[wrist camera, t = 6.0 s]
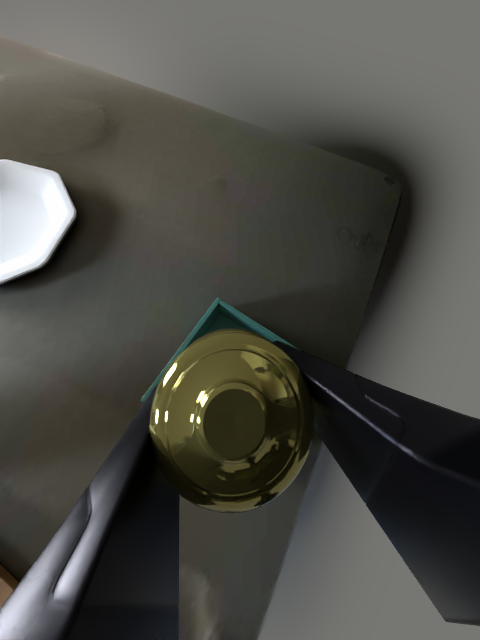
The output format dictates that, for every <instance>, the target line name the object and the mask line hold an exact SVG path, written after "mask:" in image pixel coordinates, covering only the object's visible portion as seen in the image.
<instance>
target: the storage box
mask: <svg viewBox="0 0 480 640" xmlns="http://www.w3.org/2000/svg"><path fill="white" fill-rule="evenodd" d="M230 328H236V329H244V330H249V331H252V332H255V333H257V334H260V335H262V336H263V337H265V338H267V339H268V340H270V341H271V342H274V341H276V340H278V341H281V342H283V343H285V344H288V345H290V346H292V347H294V348H296V347H295V346H293V345H291V344H290V343H288V342H287V341H285V340H284V339H282V338H280V337H279V336H277V335H276V334H274V333H273V332H271V331H270V330H268V329H266V328H265V327H263V326H262V325H260V324H259V323H257V322H255V321H254V320H252V319H251V318H249V317H248V316H246V315H245V314H243V313H241V312H240V311H238V310H237V309H235V308H234V307H232V306H230V305H229V304H227V303H226V302H224V301H223V300H221V299H220V298H217V299H216V300H215V301H214V303H213V304H212V305H211V307H210V308H209V309H208V311H207V312H206V313H205V315H204V316H203V317H202V319H201V320H200V321H199V323H198V324H197V325H196V327H195V328H194V329H193V331H192V332H191V333H190V335H189V336H188V337H187V339H186V340H185V341H184V343H183V344H182V345H181V347H180V348H179V349H178V351H177V352H176V353H175V355H174V356H173V357H172V359H171V360H170V361H169V363H168V364H167V365H166V367H165V368H164V369H163V371H162V372H161V373H160V375H159V376H158V377H157V379H156V380H155V381H154V383H153V384H152V385H151V387H150V388H149V389H148V391H147V392H146V393H145V395H144V396H143V397H142V399H141V401H142V402H143V403H144V402H145V401H146V399H147V398H148V396H149V395H150V393H151V392H152V390H153V389H154V387H155V386H156V385H157V384H159V382H160V380H161V378H162V376H163V375H164V373H165V371H166V370H167V368H168V367H169V366H170V364H171V363H172V362H173V361H174V360H175V359H176V357H177V356H178V355H179V354H181V353H182V352H183V351H184V350H185V349H186V348H187V347H188V346H189V345H191V344H192V343H193V342H194V341H196V340H197V339H199V338H200V337H202V336H204V335H206V334H208V333H211V332H214V331H217V330H221V329H230ZM297 349H298V348H297Z"/></svg>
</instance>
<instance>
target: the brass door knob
mask: <svg viewBox="0 0 480 640" xmlns="http://www.w3.org/2000/svg"><path fill="white" fill-rule="evenodd" d="M313 430H314V410H313V403H312V399H311V395H310V391H309V388H308V386H307V383H306V381H305V379H304V377H303V375H302V373H301V371H300V370H299V368H298V367H297V365H296V364H295V362H294V361H293V360H292V359H291V358H290V357H289V356H288V355H287V354H286V353H285V352H284V351H283V350H282V349H281V348H279V347H278V346H276V345H275V344H273V343H272V342H271V341H270V340H268V339H267V338H265V337H263V336H262V335H260V334H257V333H255V332H252V331H249V330H244V329H236V328H230V329H221V330H217V331H214V332H211V333H208V334H206V335H204V336H202V337H200V338H199V339H197V340H196V341H194V342H193V343H192V344H191V345H189V346H188V347H187V348H186V349H185V350H184V351H183V352H182V353H181V354H179V355H178V356H177V357H176V359H175V360H174V361H173V362H172V363H171V364H170V366H169V367H168V368H167V370H166V371H165V373H164V375H163V376H162V378H161V380H160V382H159V384H158V386H157V389H156V392H155V395H154V398H153V402H152V406H151V413H150V437H151V444H152V448H153V452H154V455H155V458H156V461H157V463H158V466H159V468H160V469H161V471H162V473H163V475H164V476H165V478H166V479H167V481H168V482H169V483H170V485H171V486H172V487H173V488H174V489H175V490H176V491H177V492H178V493H179V494H180V495H181V496H183V497H184V498H185V499H187V500H188V501H190V502H191V503H193V504H195V505H197V506H199V507H201V508H204V509H206V510H210V511H213V512H219V513H241V512H246V511H250V510H253V509H256V508H259V507H261V506H263V505H265V504H267V503H269V502H271V501H272V500H274V499H275V498H277V497H278V496H279V495H280V494H281V493H283V492H284V491H285V490H286V489H287V488H288V487H289V486H290V484H291V483H292V482H293V481H294V480H295V478H296V477H297V475H298V474H299V472H300V470H301V469H302V467H303V465H304V463H305V461H306V458H307V456H308V453H309V450H310V446H311V443H312V437H313Z"/></svg>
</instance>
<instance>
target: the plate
mask: <svg viewBox="0 0 480 640" xmlns="http://www.w3.org/2000/svg"><path fill="white" fill-rule="evenodd" d="M76 219H77V210H76V208H75V206H74V204H73V201H72V199H71V197H70V195H69V193H68V191H67V188H66V186H65V184H64V182H63V180H62V177H61V176H60V175H59V174H58V173H56V172H55V171H51V170H47V169H43V168H39V167H35V166H31V165H27V164H23V163H19V162H15V161H11V160H7V159H3V160H0V285H3V284H5V283H8V282H10V281H13V280H15V279H17V278H20V277H22V276H25V275H27V274H30V273H32V272H35V271H37V270H39V269H42V268H43V267H45V266H46V265H47V264H48V263H49V262H50V261H51V259H52V257H53V256H54V254H55V253H56V251H57V249H58V248H59V246H60V245H61V243H62V241H63V240H64V238H65V237H66V235H67V233H68V232H69V230H70V229H71V227H72V225H73V224H74V222H75V221H76Z"/></svg>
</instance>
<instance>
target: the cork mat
mask: <svg viewBox="0 0 480 640" xmlns="http://www.w3.org/2000/svg"><path fill="white" fill-rule="evenodd" d="M18 584H19V582H18V581H17V580H16V579H15V578H14V577H13V576H12V575H11V574H10V573H9V572H8V571H7V570H6V569H5V568H4V567H3V566H1V565H0V608H1V607H2V605H3V604H4V602H5V601H6V600H7V598H8V597H9V596H10V594H11V593H12V592H13V590H14V589H15V588H16V586H17V585H18Z"/></svg>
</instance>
